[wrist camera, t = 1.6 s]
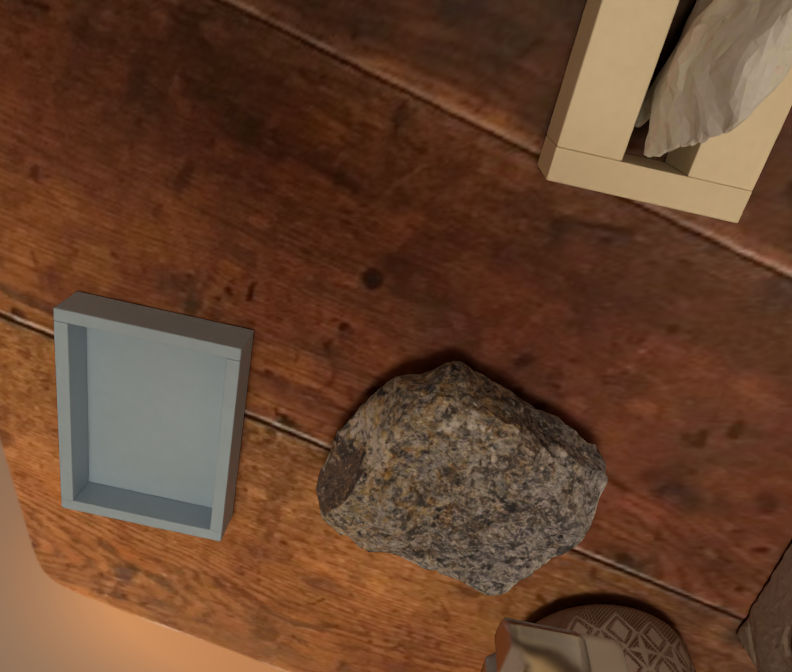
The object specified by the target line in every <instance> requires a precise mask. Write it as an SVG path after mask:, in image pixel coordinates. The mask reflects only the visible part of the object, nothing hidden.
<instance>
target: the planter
mask: <svg viewBox="0 0 792 672" xmlns="http://www.w3.org/2000/svg"><path fill="white" fill-rule="evenodd" d="M536 624H541V625H546V626H551V627H556V628H561V629H566V630H571V631H575V632H577V633H583V634H588V635H593V636H598V637H602V638H607V639H612V640H617V642H618V643H619V645H620V646H621V647H622V649H623V653H624V656H625V660H626V663H627V667H628V671H629V672H696V670H695V668H694V665H693V662H692V660H691V657H690V654H689V652H688V649H687V647H686V645H685V643H684V642H683V640H682V639H681V637H680V636H679V635H678V634H677V633H676V632H675V631H674V630H673V629H672V628H671V627H670V626H669V625H668V624H666V623H665V622H663V621H662V620H660V619H659V618H657V617H655V616H653V615H651V614H649V613H646V612H644V611H641V610H638V609H634V608H630V607H625V606H619V605H609V604H593V605H583V606H577V607H572V608H568V609H564V610H561V611H558V612H555V613H553V614H551V615H548V616H546V617H545V618H543V619H541V620H539V621H538V622H536Z"/></svg>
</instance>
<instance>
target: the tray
mask: <svg viewBox="0 0 792 672" xmlns="http://www.w3.org/2000/svg"><path fill="white" fill-rule="evenodd" d="M253 334H254V330H250V329H246V328H241V327H236V326H232V325H227V324H223V323H218V322H214V321H209V320H205V319H200V318H196V317H191V316H187V315H182V314H178V313H173V312H169V311H164V310H159V309H155V308H150V307H146V306H141V305H137V304H132V303H128V302H123V301H119V300H114V299H110V298H105V297H101V296H96V295H92V294H87V293H82V292H78V291H77V292H75V293H74V294H73V295H71V296H70V297H69V298H67V299H66V300H64V301H63V302H61V303H60V304H59V305H57V306H56V307H54V337H55V361H56V384H57V408H58V432H59V455H60V479H61V498H62V507H63V508H67V509H72V510H77V511H81V512H86V513H91V514H95V515H100V516H105V517H109V518H114V519H119V520H123V521H128V522H132V523H137V524H142V525H146V526H151V527H156V528H160V529H165V530H170V531H174V532H179V533H184V534H188V535H193V536H198V537H202V538H207V539H212V540H216V541H221V540H222V537H223V535H224V533H225V531H226V529H227V526H228V524H229V522H230V520H231V518H232V515H233V506H234V498H235V489H236V481H237V472H238V463H239V455H240V446H241V438H242V429H243V420H244V412H245V403H246V395H247V386H248V377H249V369H250V360H251V352H252V343H253Z"/></svg>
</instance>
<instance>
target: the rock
mask: <svg viewBox="0 0 792 672" xmlns="http://www.w3.org/2000/svg"><path fill="white" fill-rule="evenodd" d="M605 470H606V464H605V461H604V459H603V457H602V456H601V454H600V453H599V451H598V449H597V447H596V445H595V444H589V443H587V442H586V441H585V440H584V439H582V438H581V437H580V436H579V435H578V433H577V431H575V430H574V429H572V428H571V427H569V426H568V425H566V424H564V423H563V421H562V420H561V419H560V418H559V417H558V416H555V415H552V414H549V413H546V412H544V411H541V410H537V409H535V408H534V407H533V406H532V405H531V404H529V403H527V402H525V401H522V400H521V399H520V398H519V397H518V396H517V395H516V394H514V393H513V392H511V391H510V390H508V389H506V388H505V387H503V386H501V385H499V384H497V383H495V382H493V381H491V380H490V379H488V378H487V377H486V376H484V375H483V374H481V373H478V372H476V371H474V370H472V369H471V368H470V367H469V366H468V365H467V364H466V363H464V362H459V361H452V362H446V363H445V364H443V365H441V366H439V367H438V368H436V369H434V370H432V371H428V372H425V373H423V374H408V375H402V376H398V377H395V378H393V379H392V380H390V381H388V382H387V383H386V384H385V385H384V386H383V387H381V388H379V389H378V390H377V391H376V392H375V393H374V394H373V395H371V396H370V398H369V399H368V400H367V401H366V402H365V403H364V404H362V405H361V406H360V407H359V408H358V410H357V411H356V413H355V414H354V415H353V416H352V417H351V419H350V420H349V421H348V422H347V423H346V424H345V426H344V427H343V428H342V429H341V430H339V431H338V432H337V433H336V436H335V438H334V440H333V444H332V447H331V450H330V452H329V455H328V458H327V460H326V462H325V464H324V466H323V467H322V468H321V470H320V474H319V478H318V482H317V487H316V492H317V496H318V500H319V506H320V512H321V516H322V518H323V519H324V521H325V522H326V523H327V524H328V525H330V526H332V527H333V528H334V529H335V530H336V531H337V532H338V533H339V534H340V535H343V534H344V535H346V536H349V537H350V538H351V539H352V540H353V541H354V542H355V543H356V544H357V545H358V546H359V547H361V548H362V549H364V550H366V551H368V552H387V553H391V554H395V555H398V556H400V557H403V558H405V559H406V560H408V561H410V562H413V563H415V564H417V565H419V566H420V567H421V568H424V569H427V570H436V571H438V572H439V573H440V574H443V575H446V576H449V577H452V578H455V579H457V580H460V581H462V582H464V583H465V584H467V585H469V586H470V587H472V588H474V589H476V590H478V591H479V592H481V593H483V594H486V595H501V594H504V593H506V592H508V591H510V589H511V588H512V586H514V585H515V584H517V582H518V581H520V580H522V579H524V578H527V577H529V576H531V575H532V574H533V572H534V571H535V570H537V569H539V568H540V567H541V566H543V565H544V564H545V563H547V562H548V561H549V560H550V559H551V558H552V557H555V556H559V555H562V554H564V553H566V552H567V551H569V550H570V549H572V548H574V547H575V546H576V545H578V544H579V543H580V542H581V541H582V540H583V539H584V537H585V534H586V532H587V531H588V530H589V529H590V526H591V523H592V520H593V518H594V516H595V512H596V508H597V504H598V500H599V497H600V496H601V494H602V492H603V490H604V488H605V486H606V484H607V481H608V478H607V476H606V473H605Z"/></svg>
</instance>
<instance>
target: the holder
mask: <svg viewBox="0 0 792 672" xmlns="http://www.w3.org/2000/svg"><path fill="white" fill-rule="evenodd" d="M678 3H679V0H587V2H586V5H585V9H584V12H583V15H582V19H581V22H580V25H579V29H578V32H577V35H576V39H575V42H574V45H573V49H572V52H571V55H570V59H569V62H568V65H567V68H566V72H565V75H564V78H563V82H562V85H561V88H560V92H559V95H558V98H557V102H556V105H555V108H554V112H553V115H552V118H551V122H550V125H549V128H548V131H547V135H546V138H545V141H544V144H543V148H542V151H541V154H540V158H539V161H538V164H537V165H538V167H539V168H540V170H541V172H542V173H543V175H544V177H545V178H546V180H549V181H553V182H557V183H562V184H566V185H571V186H575V187H579V188H584V189H588V190H593V191H597V192H602V193H606V194H610V195H615V196H619V197H624V198H628V199H632V200H637V201H641V202H646V203H650V204H655V205H659V206H663V207H668V208H672V209H677V210H681V211H685V212H690V213H694V214H699V215H703V216H708V217H712V218H716V219H721V220H725V221H730V222H734V223H738V221H739V219H740V217H741V215H742V212H743V210H744V208H745V206H746V204H747V202H748V199H749V197H750V195H751V193H752V190H753V188H754V186H755V184H756V182H757V180H758V177H759V175H760V173H761V171H762V169H763V167H764V164H765V162H766V160H767V158H768V156H769V154H770V151H771V149H772V147H773V145H774V143H775V140H776V138H777V136H778V134H779V132H780V130H781V127H782V125H783V123H784V121H785V119H786V117H787V114H788V112H789V110H790V108H791V106H792V67H791V69H790V71H789V72H788V74H787V75H786V77H785V78H784V80H783V81H782V82H781V83H780V84H779V85H778V86H777V88H776V89H775V90H774V91H773V92H772V93H771V94H770V95H769V96H768V97H767V98H766V99H765V100H764V101H763V102H761V103H760V104H759V106H758V107H757V108H756V109H755V110H754V111H753V113H752V114H751V115H750V116H749V117H748V118H747V119H746V120H745V121H743V122H742V123H741V124H740V125H738V126H737V127H736V128H734V129H733V130H732V131H731V132H729V133H723V134H721V135H719V136H715V137H710V138H709V139H708V140H707V141H706V142H705V143H703V144H701V143H699V142H698V143H696V144H695V145H693V146H691V145H689V146H686V147H679V148H677V149H675V150H672V151H669V152H668V154H667V157H666V160H665V162H662V161H658V160H653V159H649V158H645V157H640V156H636V155H631V154H627V153H625V151H626V148H627V145H628V142H629V139H630V137H631V134H632V131H633V128H634V126H635V123H636V120H637V117H638V114H639V112H640V109H641V106H642V103H643V101H644V98H645V95H646V92H647V89H648V87H649V84H650V81H651V78H652V75H653V73H654V70H655V67H656V64H657V62H658V59H659V56H660V53H661V50H662V48H663V45H664V42H665V39H666V37H667V34H668V31H669V28H670V25H671V23H672V20H673V17H674V14H675V12H676V9H677V6H678Z"/></svg>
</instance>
